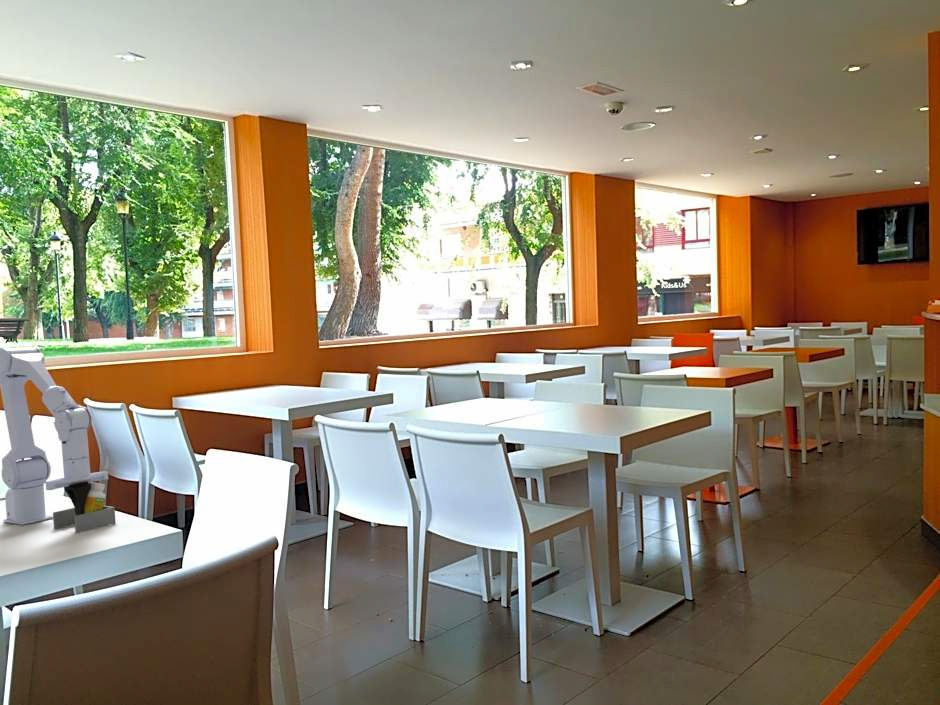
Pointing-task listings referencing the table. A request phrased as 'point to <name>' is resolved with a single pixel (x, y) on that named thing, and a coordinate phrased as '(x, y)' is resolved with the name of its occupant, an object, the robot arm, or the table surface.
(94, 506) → the supplement bottle
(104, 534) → the table surface
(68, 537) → the table surface
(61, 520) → the crate
